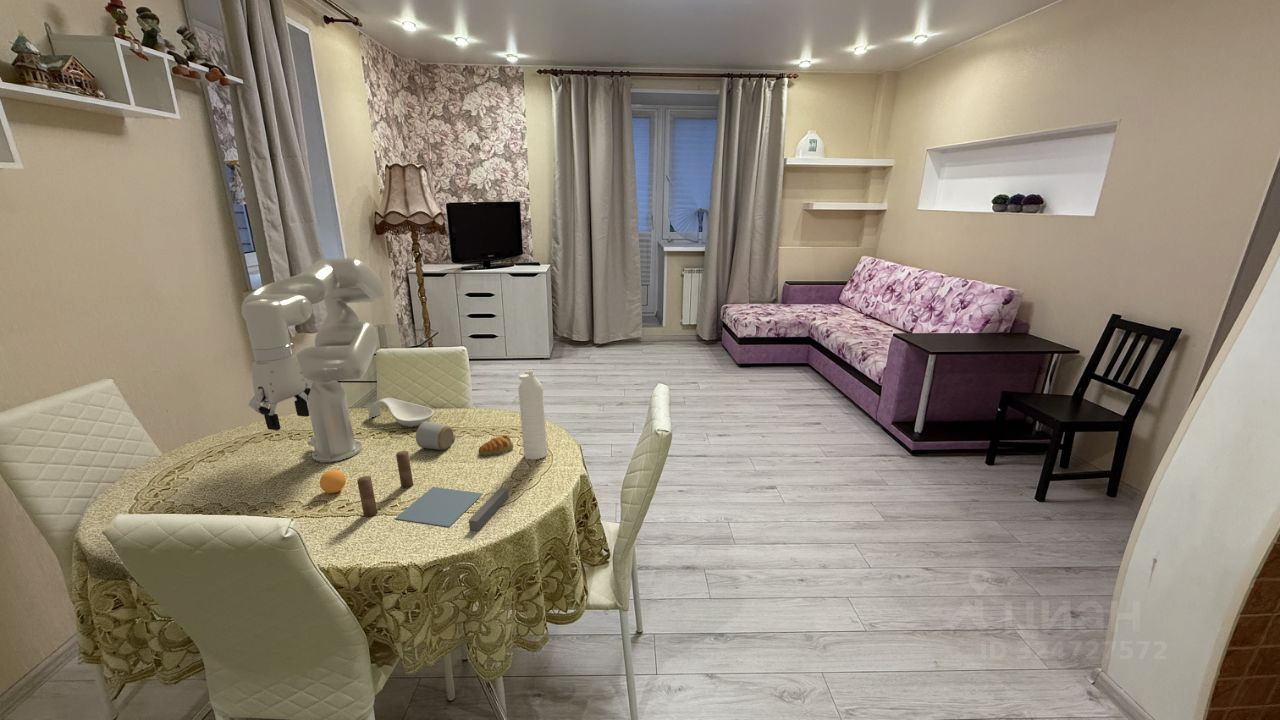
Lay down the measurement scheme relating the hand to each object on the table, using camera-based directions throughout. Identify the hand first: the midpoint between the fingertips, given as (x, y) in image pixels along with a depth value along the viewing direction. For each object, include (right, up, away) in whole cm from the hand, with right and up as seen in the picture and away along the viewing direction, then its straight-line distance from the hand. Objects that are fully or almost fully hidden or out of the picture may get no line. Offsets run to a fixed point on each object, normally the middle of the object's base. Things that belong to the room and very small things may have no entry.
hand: (289, 422), depth 128 cm
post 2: (+27, -17, +5) cm, 32 cm away
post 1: (+23, -20, -7) cm, 32 cm away
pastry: (+44, -11, +24) cm, 52 cm away
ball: (+9, -15, +2) cm, 18 cm away
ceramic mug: (+26, -10, +27) cm, 39 cm away
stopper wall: (+51, -20, -7) cm, 55 cm away
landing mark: (+39, -19, -4) cm, 43 cm away
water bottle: (+56, -12, +19) cm, 60 cm away
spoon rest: (+7, -5, +45) cm, 46 cm away
